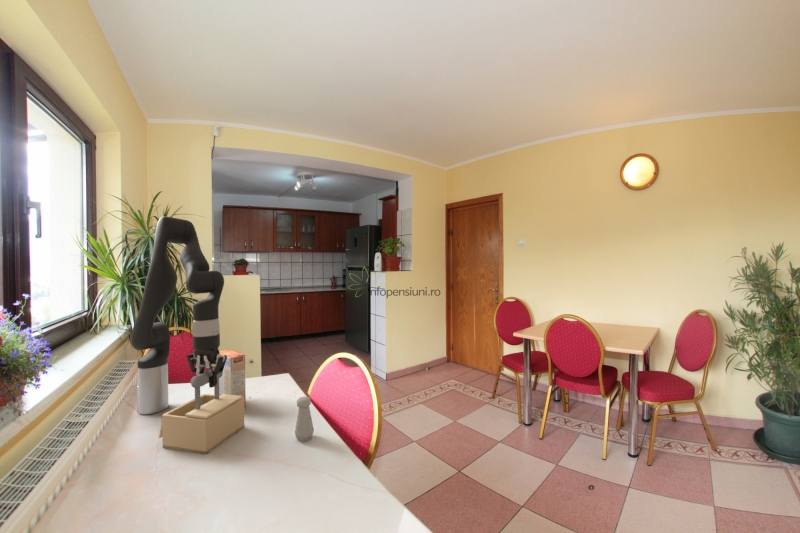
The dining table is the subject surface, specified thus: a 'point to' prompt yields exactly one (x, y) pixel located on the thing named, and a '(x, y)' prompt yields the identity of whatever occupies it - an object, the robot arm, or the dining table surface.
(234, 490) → the dining table surface
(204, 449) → the tan open box
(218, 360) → the robot arm
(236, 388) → the cracker box
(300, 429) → the salt shaker
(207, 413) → the door with pull handle
